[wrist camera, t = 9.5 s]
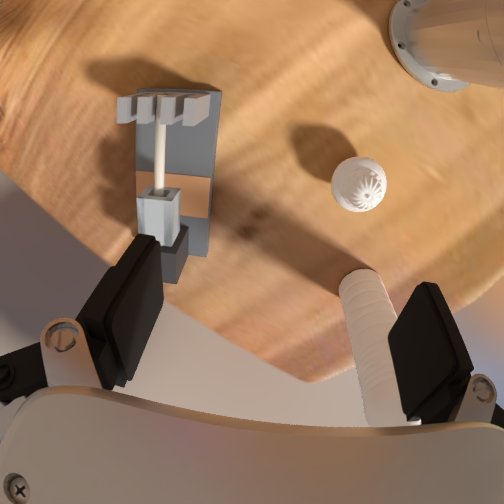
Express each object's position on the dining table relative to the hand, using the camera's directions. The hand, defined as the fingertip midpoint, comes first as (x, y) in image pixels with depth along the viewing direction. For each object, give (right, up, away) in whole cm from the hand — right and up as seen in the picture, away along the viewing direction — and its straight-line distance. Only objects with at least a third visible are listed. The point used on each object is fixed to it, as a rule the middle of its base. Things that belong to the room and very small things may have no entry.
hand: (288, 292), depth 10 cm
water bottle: (+15, -4, +32) cm, 35 cm away
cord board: (-10, +10, +24) cm, 28 cm away
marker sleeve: (-11, +6, +21) cm, 25 cm away
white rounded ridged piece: (+10, +10, +23) cm, 27 cm away
